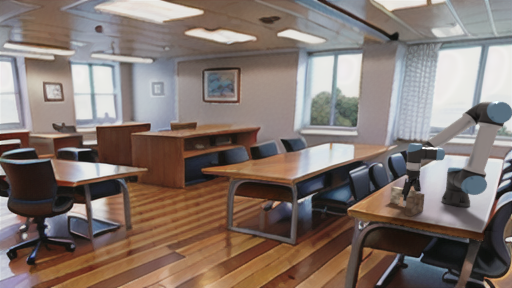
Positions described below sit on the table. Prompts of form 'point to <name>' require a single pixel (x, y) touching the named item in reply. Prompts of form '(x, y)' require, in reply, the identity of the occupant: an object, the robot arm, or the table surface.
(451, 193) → the robot arm
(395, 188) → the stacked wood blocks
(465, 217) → the table surface
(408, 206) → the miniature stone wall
